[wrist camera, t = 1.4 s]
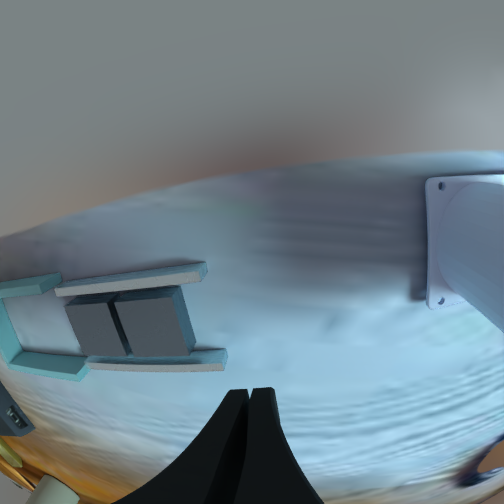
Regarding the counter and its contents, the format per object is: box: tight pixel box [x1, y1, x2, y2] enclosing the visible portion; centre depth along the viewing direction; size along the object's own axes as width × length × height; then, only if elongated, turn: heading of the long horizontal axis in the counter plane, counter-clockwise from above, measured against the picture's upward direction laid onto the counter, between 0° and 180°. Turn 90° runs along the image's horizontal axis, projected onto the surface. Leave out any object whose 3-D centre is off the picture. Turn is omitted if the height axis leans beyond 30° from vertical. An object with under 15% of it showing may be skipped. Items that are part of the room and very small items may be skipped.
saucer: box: [0, 437, 22, 467], centre depth 31 cm, size 9×9×2 cm
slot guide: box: [54, 262, 228, 372], centre depth 18 cm, size 11×7×2 cm, turn 100°
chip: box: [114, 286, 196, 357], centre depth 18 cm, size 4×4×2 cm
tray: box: [0, 273, 91, 382], centre depth 19 cm, size 11×8×2 cm
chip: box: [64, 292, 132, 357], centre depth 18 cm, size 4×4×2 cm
